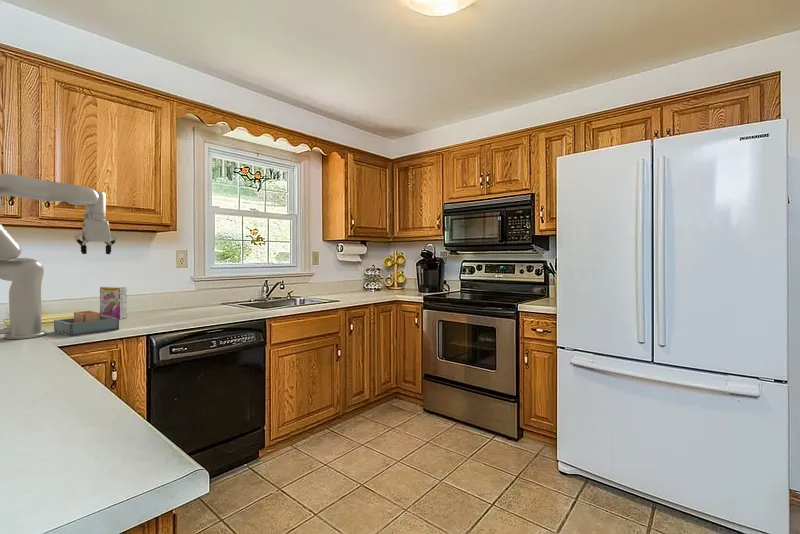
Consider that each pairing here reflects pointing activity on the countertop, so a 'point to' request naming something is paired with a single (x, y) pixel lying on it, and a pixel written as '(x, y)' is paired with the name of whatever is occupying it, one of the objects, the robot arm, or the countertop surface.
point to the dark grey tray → (86, 326)
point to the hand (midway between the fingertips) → (96, 254)
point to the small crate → (86, 316)
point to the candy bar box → (113, 302)
